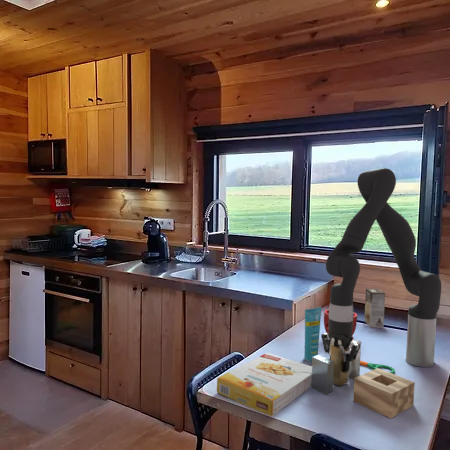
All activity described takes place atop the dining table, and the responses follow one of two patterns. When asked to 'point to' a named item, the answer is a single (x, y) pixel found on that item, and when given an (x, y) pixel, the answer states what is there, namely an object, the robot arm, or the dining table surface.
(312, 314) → the tube
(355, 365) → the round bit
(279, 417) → the dining table surface
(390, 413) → the socket block
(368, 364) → the magnifying glass
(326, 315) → the plant pot
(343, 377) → the square bit
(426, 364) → the robot arm
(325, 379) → the brushed grey-blue block
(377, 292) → the coffee box
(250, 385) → the cereal box
